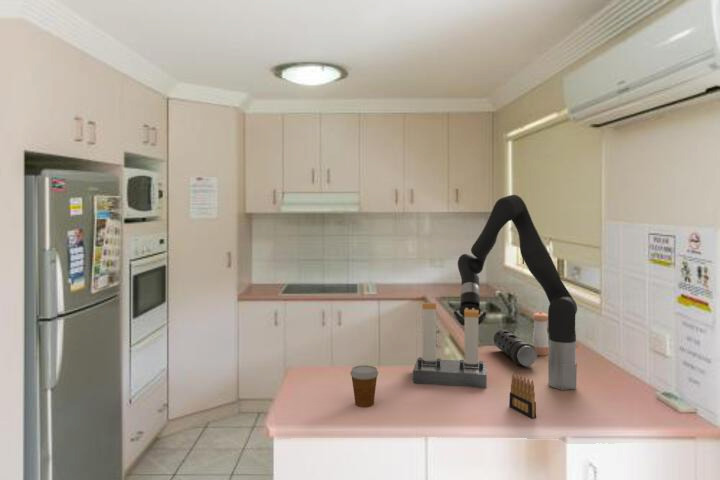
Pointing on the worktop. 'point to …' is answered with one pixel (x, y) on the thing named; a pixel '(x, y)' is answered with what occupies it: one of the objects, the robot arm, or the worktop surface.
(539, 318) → the pepper shaker
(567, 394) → the worktop surface
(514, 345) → the muzzle brake
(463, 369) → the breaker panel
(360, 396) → the disposable coffee cup
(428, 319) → the lever far
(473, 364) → the lever near
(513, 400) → the ammunition clip
